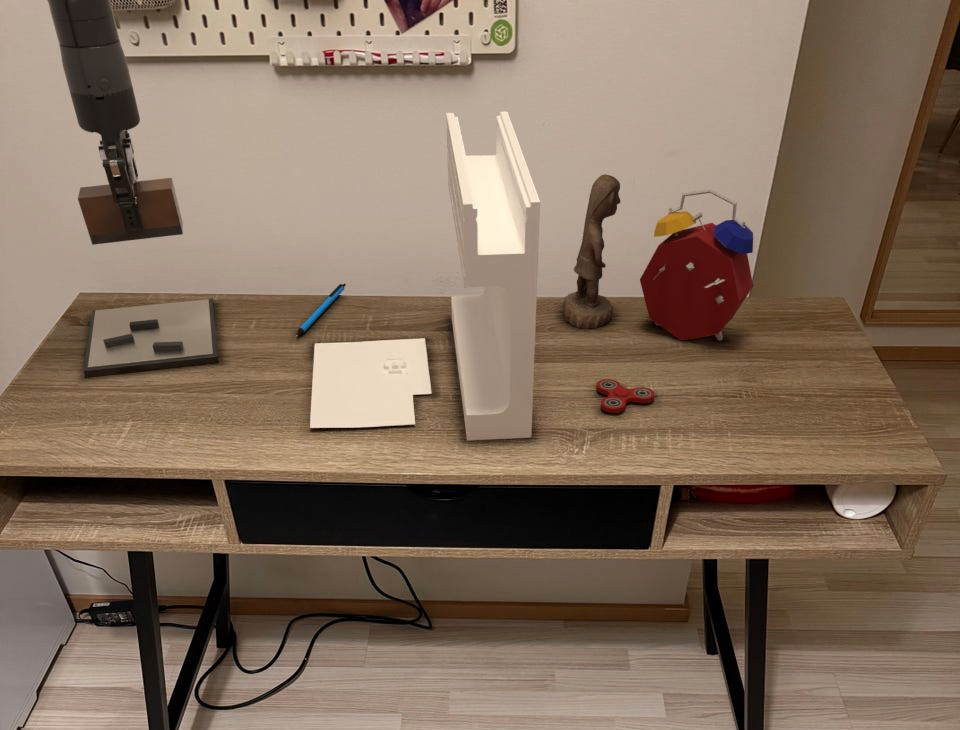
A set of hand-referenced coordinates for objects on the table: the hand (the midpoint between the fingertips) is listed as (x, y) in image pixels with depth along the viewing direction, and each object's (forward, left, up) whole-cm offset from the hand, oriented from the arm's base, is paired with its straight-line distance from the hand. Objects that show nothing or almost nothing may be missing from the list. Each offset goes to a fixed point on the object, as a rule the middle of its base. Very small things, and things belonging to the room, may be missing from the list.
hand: (135, 225), depth 127 cm
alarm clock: (+75, -19, -16) cm, 79 cm away
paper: (+28, -22, -16) cm, 39 cm away
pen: (+24, +2, -16) cm, 28 cm away
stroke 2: (-2, 0, -14) cm, 15 cm away
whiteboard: (-1, -1, -16) cm, 16 cm away
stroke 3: (+1, -8, -14) cm, 16 cm away
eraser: (0, 0, -1) cm, 1 cm away
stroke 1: (-6, -4, -14) cm, 16 cm away
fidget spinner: (+59, -34, -16) cm, 70 cm away
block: (+44, -23, -16) cm, 52 cm away
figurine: (+63, -9, -16) cm, 65 cm away
